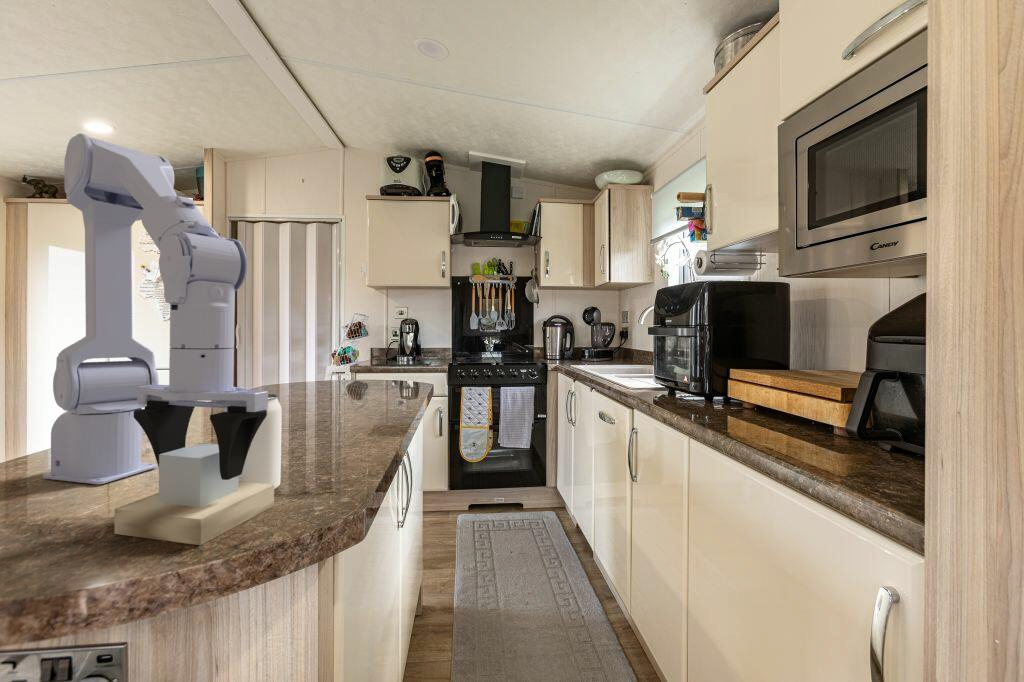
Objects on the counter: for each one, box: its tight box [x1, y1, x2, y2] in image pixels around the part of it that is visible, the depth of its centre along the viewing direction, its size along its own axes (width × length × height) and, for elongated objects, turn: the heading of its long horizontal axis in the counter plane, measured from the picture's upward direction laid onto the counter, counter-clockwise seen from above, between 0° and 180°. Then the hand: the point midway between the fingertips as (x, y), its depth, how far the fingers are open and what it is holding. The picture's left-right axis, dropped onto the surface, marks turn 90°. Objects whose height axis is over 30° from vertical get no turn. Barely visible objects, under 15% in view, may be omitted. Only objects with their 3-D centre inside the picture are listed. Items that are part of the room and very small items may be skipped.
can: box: [223, 393, 283, 491], centre depth 58 cm, size 6×6×12 cm
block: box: [158, 442, 239, 507], centre depth 49 cm, size 5×5×5 cm
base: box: [114, 481, 275, 546], centre depth 49 cm, size 10×10×2 cm
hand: (201, 473), depth 49 cm, fingers open, 7 cm apart
